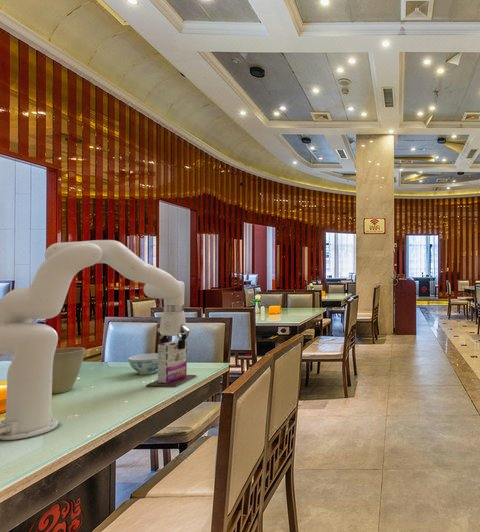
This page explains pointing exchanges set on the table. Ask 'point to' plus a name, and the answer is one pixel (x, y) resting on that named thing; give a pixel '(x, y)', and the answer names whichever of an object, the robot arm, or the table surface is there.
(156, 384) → the plate
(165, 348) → the candy bar box
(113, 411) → the table surface
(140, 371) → the chinaware
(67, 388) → the plant pot
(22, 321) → the robot arm
